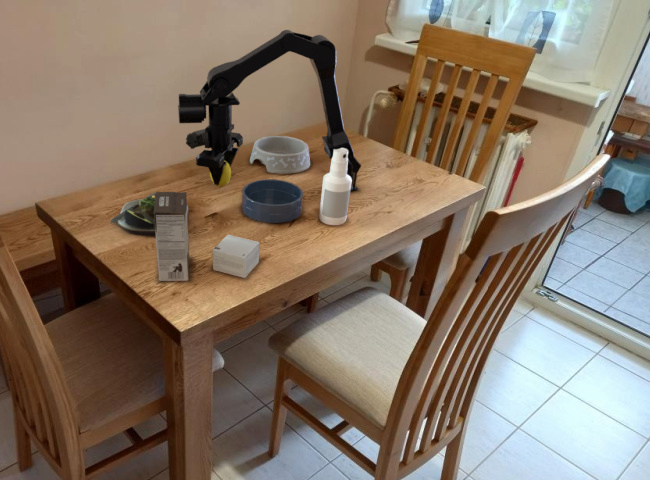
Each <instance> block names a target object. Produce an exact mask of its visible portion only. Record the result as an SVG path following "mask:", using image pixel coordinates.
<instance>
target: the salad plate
mask: <svg viewBox="0 0 650 480" xmlns="http://www.w3.org/2000/svg"><path fill="white" fill-rule="evenodd" d="M155 193H156V192H152V193H150V194H149V195H147V196H146V197H144V198H141V199H140V198H139V199H133V200H130V201H128V202H126V203H124V205H123V206H122V208H121V210H120V213H119V214H117V215H115V216H114V217H113V218H112V219H110V220H109V221H110V224H114V225H116V226H118V227H119V228H121V229H122V230H123V231H124V232H126V233H128V234H131V235H135V236H148V237H156V233H155V220H154V205H155ZM187 215H188V216H189V205H187Z"/></svg>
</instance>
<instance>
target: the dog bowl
mask: <svg viewBox="0 0 650 480" xmlns="http://www.w3.org/2000/svg"><path fill="white" fill-rule="evenodd" d="M310 157H311V156H310V149H309V145H308V144H307V142H305V141H304V140H301V139H299V138H296V137H293V136H286V135H267V136H263V137H261V138H258V139H256V141H254V143H253V147H252V150H251V154H250V157H249V163H250V164H251V165H253V163H254V162H255V160H258V161H259V162H260V163H261V164H262V165H264V166H265V168H266V171H267V172H268V173H271V174H283V175H284V174H287V175H289V174H296V173H300V172H304V171H306V170H308V169H309V168H310V167H311V159H310Z"/></svg>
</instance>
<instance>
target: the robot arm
mask: <svg viewBox="0 0 650 480" xmlns="http://www.w3.org/2000/svg"><path fill="white" fill-rule="evenodd" d="M289 52H291V53H294V54H296V55H299V56H302V57H304V58H306V59H309V63H310V64H311V67H312V69H313V71H314V72H315V75H316V79H317V82H318V88H319V91H320V92H319V93H320V98H321V103H322V107H323V108H322V109H323V113H324V117H325V123H326V127H327V132H326V135H323V136H321V140H322V141H323V145H324V147H323V150H324V153H326V155H327V156H328V158H329V159H330V160H332V157H333V151H334V149H340V148H345V149H347V150H348V166H347V175H349V176H350V177H351V179H352V183H351V190H350V193H352V192H357V191H359V188H358V187H357V186H356V183H357V177H358V173H359V172H360V169H361V167H362V164H361V163H360V162H359V160H358V159H357V158H356V156H355V152H354V149H353V145H352V144H351V141H350V139H349V136H348V135H347V132H346V130H345V125H344V121H343V115H342V110H341V105H340V99H339V93H338V88H337V81H336V69H337V49H336V46H335V44H334V43H333V42H332V41H331V40H330V39H329V38H327V37H326V36H325V35H322V34H315V35H313V36H311V35H308V34H305V33H299V32H294V31H292V30H290V29H285V30H282V31H281V32H280V33H279V34H278V35H276V36H273V38H271V39H270V40H268V41H266V42H264V43H263V44H261V45H259V46H258V47H256V48H254V49H253V50H251V51H250V52H248V53H246V54H245V55H243V56H242V57H240V58H238V59H235V60H232V61H228V62H224V63H222V64H219V65H217V66H214V67H212V68H211V69H210V70H209V71H208V73H207V76H206V81H205V83H204V85H203V86H202V87H201V88H200V91H199V94H198V93H197V94H196V93H195V94H186V93H179V94H178V104H177V109H178V110H177V112H178V123H179V124H203V122H204V121H205V120H206V119H207V106H208V125H207V126H206V127H205V128H203V129H198V130H195V131H192V132H189V133H187V135H186V138H185V140H186V141H185V144H186V145H187V146H188V147H189V148H190V149H191V150H193V149H196V148H199V147H203V146H204V148H205V149H204V150H203V151H201V152H200V153H199V154H198V155H197V156H196V157H195V165H196V166H198V167H204V168H208V170H209V174H210V173H211V176H212V178H213V181H214V183H213V184H214V185H215V186H217V185H219V183H220V180H221V177H222V175H223V172H224V169H225V166H226V163H228V164H229V166H230V168H232V164H233V162H234V160H235V158H236V156H237V153H238V152H239V150H240V149H239V148H240V147H241V146H242V145H243V143H244V137H243V136H242V134H241V133H239V132H233V130H234V129H235V124H233V122H232V121H233V120H232V119H233V118H232V116H233V115H232V112H233V110H232V109H233V106H239V105H241V102H240V100H239V98H238V97H237V96H235V94H234V91H235V90H236V89H237V88H239V86H240V85H241V84H242V83H243V82H244V80H245V79H247V78H248V77H249V76H251V75H252V74H254V73H256V72H258V71H260V70H261V69H262V68H264V67H266V66H268V65H269V64H271V63H273V62H274V61H275V60H277V59H279V58H280V57H283V56H284V55H285V54H287V53H289ZM235 144H236V147H235ZM208 149H210V150H208ZM224 160H225V161H226V162H224Z"/></svg>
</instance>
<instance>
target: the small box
mask: <svg viewBox="0 0 650 480" xmlns="http://www.w3.org/2000/svg"><path fill="white" fill-rule="evenodd" d="M211 250H212V270H213V271H217V272H220V273H224V274H228V275H232V276H235V277H239V278H243V279H246V278H247V277H248V275H249V274H250V273H251V272H252V271H253V269H255V267H256V266H257V265H258V264H259V262H260V241H257V240H252V239H248V238H245V237H241V236H240V237H239V236H236V235H232V234H227V235H226V236H225V237H224V238H223V239H222V240H221V241H220V242H219V243H218V244H216V246H215V247H214V248H213V249H211Z"/></svg>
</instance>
